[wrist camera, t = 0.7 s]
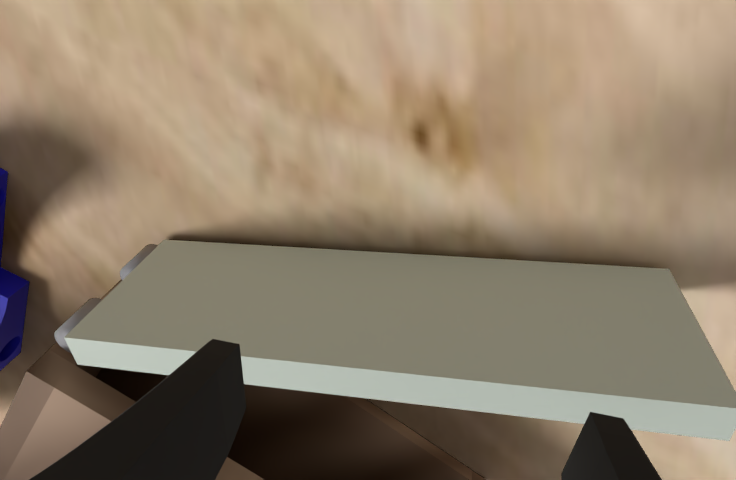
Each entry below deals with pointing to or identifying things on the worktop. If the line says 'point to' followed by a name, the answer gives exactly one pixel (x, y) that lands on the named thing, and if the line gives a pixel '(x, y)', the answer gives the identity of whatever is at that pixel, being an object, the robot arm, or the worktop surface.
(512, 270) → the cabinet door
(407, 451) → the cabinet
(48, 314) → the worktop surface
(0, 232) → the cable clip
